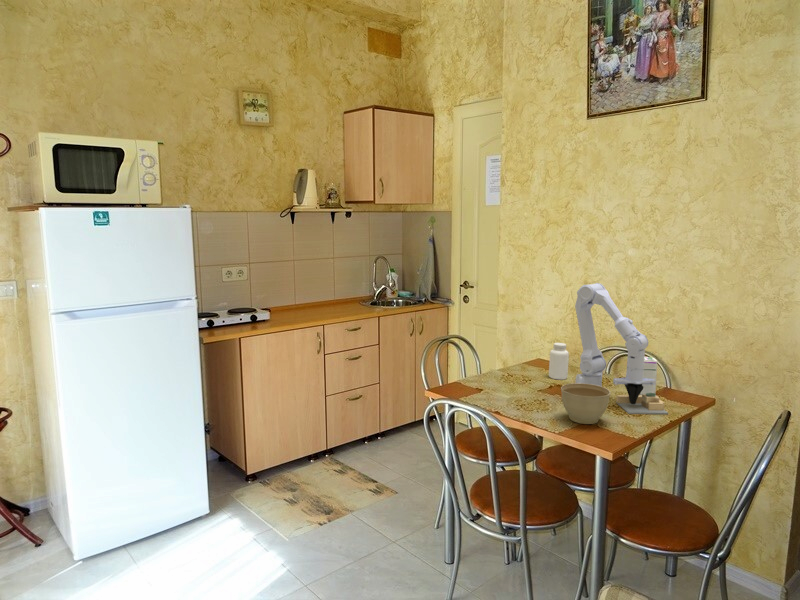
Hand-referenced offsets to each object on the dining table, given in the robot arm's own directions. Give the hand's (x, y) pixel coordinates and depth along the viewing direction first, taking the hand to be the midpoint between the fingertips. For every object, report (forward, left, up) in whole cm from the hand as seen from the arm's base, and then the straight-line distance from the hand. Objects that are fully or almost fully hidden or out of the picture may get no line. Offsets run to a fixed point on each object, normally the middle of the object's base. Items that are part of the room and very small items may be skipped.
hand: (632, 403), depth 206 cm
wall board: (+3, -1, -2) cm, 3 cm away
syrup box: (+12, +16, -2) cm, 20 cm away
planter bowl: (-22, -14, -2) cm, 26 cm away
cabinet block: (+6, -1, -1) cm, 6 cm away
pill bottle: (-17, +38, -2) cm, 42 cm away
